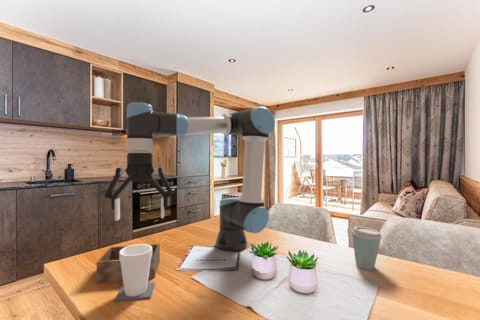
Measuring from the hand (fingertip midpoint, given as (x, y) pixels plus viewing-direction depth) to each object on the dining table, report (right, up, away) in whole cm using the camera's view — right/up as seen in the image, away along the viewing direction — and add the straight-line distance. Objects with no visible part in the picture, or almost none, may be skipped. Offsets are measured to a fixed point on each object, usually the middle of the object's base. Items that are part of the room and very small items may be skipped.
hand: (140, 218), depth 76 cm
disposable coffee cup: (+82, -24, +18) cm, 87 cm away
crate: (-9, -23, +12) cm, 27 cm away
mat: (-1, -23, -2) cm, 23 cm away
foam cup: (-1, -23, -2) cm, 23 cm away
